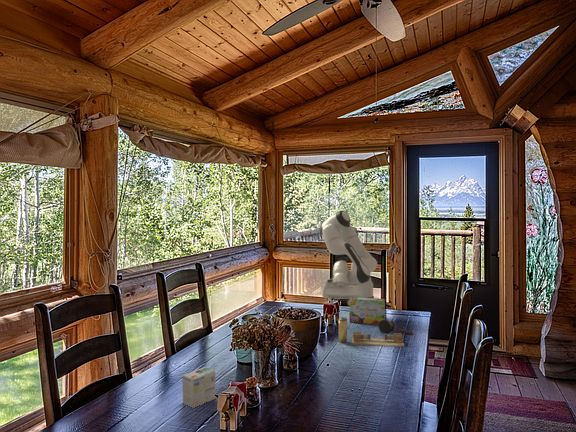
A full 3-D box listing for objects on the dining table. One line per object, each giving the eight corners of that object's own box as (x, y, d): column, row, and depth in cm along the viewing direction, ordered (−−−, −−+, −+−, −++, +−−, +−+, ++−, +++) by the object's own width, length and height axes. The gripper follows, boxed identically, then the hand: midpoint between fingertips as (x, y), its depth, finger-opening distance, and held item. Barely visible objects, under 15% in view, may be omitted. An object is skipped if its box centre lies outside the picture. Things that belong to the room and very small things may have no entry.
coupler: (338, 340, 231) (338, 317, 230) (347, 340, 230) (347, 317, 230) (338, 342, 226) (338, 319, 226) (347, 343, 225) (347, 319, 225)
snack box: (349, 322, 265) (349, 298, 265) (350, 320, 271) (350, 296, 270) (384, 325, 259) (384, 300, 259) (385, 322, 264) (385, 298, 264)
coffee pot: (376, 330, 246) (384, 330, 252) (405, 341, 234) (412, 340, 240) (379, 318, 246) (386, 317, 252) (408, 327, 234) (415, 327, 240)
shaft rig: (352, 338, 232) (352, 330, 232) (401, 340, 229) (401, 331, 229) (352, 344, 222) (352, 336, 222) (404, 346, 219) (404, 337, 219)
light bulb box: (204, 394, 165) (204, 366, 165) (216, 398, 161) (216, 370, 161) (181, 404, 157) (181, 374, 157) (193, 409, 153) (193, 379, 152)
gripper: (358, 287, 248) (359, 307, 238) (323, 287, 251) (322, 306, 241) (358, 280, 244) (359, 301, 234) (322, 280, 247) (321, 300, 237)
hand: (340, 304), depth 237 cm, fingers open, 8 cm apart
